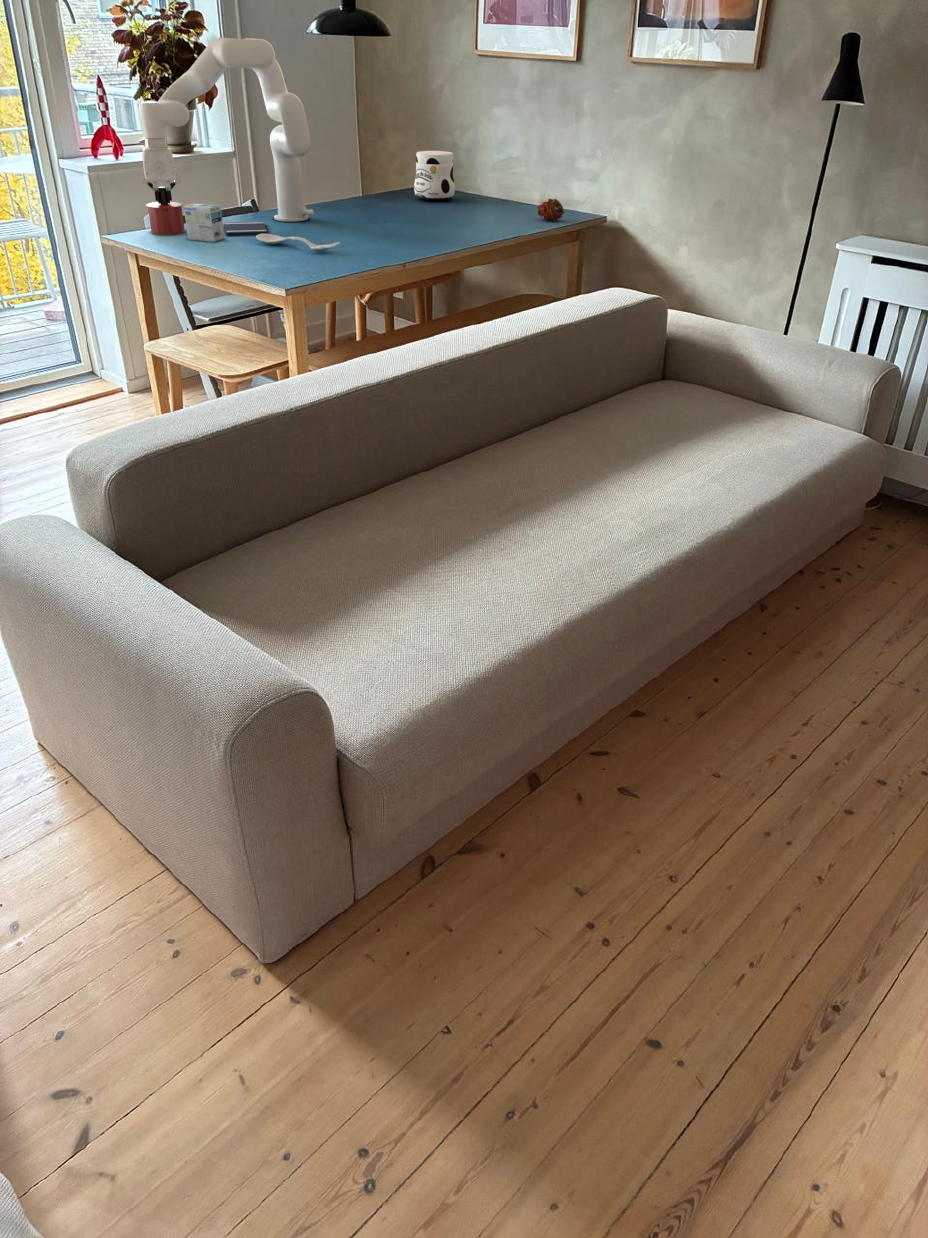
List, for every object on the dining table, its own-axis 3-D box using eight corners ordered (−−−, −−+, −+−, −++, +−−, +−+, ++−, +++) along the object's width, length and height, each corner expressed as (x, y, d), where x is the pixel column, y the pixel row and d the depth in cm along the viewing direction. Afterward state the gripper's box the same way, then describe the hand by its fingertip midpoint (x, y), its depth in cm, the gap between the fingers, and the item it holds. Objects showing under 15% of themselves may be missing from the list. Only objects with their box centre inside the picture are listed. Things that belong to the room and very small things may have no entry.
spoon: (323, 256, 302) (322, 245, 300) (251, 243, 317) (250, 232, 315) (341, 252, 308) (341, 240, 306) (270, 239, 323) (269, 228, 321)
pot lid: (182, 204, 333) (180, 184, 330) (183, 210, 323) (180, 189, 320) (147, 205, 331) (144, 184, 327) (146, 211, 321) (143, 189, 317)
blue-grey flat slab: (263, 224, 347) (263, 221, 346) (267, 234, 330) (267, 231, 330) (224, 225, 344) (223, 222, 343) (226, 235, 327) (226, 232, 327)
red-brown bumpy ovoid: (561, 227, 361) (538, 227, 369) (572, 211, 363) (549, 212, 371) (551, 209, 355) (528, 210, 363) (563, 193, 357) (540, 194, 365)
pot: (184, 227, 339) (181, 201, 335) (185, 236, 326) (181, 209, 321) (152, 228, 337) (148, 202, 332) (151, 237, 323) (147, 210, 319)
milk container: (410, 201, 396) (409, 154, 387) (418, 195, 411) (418, 149, 401) (450, 203, 394) (451, 155, 384) (458, 197, 408) (458, 151, 399)
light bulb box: (225, 238, 323) (221, 204, 317) (214, 242, 318) (210, 207, 312) (198, 236, 326) (193, 202, 320) (187, 239, 320) (182, 205, 315)
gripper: (130, 145, 311) (139, 205, 321) (181, 144, 315) (188, 204, 325) (131, 142, 318) (140, 201, 327) (180, 142, 321) (188, 200, 331)
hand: (164, 202), depth 326 cm, fingers closed on pot lid, 2 cm apart
